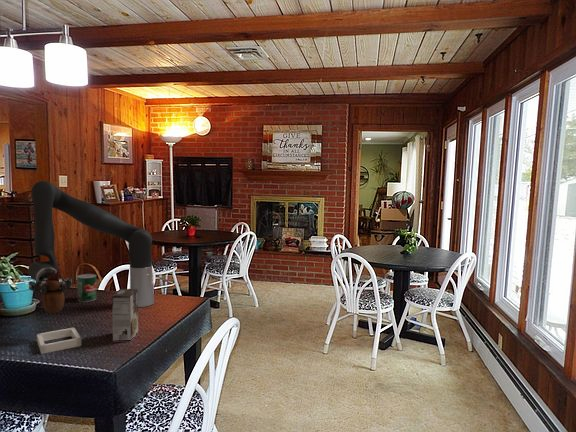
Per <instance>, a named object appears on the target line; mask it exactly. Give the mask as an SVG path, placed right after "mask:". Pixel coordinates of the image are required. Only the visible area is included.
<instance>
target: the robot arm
mask: <svg viewBox="0 0 576 432" xmlns="http://www.w3.org/2000/svg"><path fill="white" fill-rule="evenodd" d="M30 192H31V200H32V203H33V212H34V240H33V241H34V254H35V255H37V256H41V257H46V258H47V259H48V260H42V261H41V260H40V261H34V262H32V263H30V265H29V266H28V272H27V273H28V276H29V277H30V276H31V277H30V279H32V280H33V281H29V282H28V289H29V290H30V291H32V292H33V293H37V292H39V291H40V293H43V294H44V293H46V291H47V290H46V286H45V284H46V281H47V278H48V275H49V276H50V273H52V276H53V270H54V271H55V276H56V273H57V270H58V269H59V270H60V267H59V264H58V261H57V256H56V254H55V253H56V252H55V239H56V238H55V229H54V221H53V209H54V210H55V209H56V210H58V211H61V212H63V213H65V214H66V215H68V216H70V217H71V218H73V219H74V220H76V221H78V222H79V223H81V224H83V225H84V226H86V227H89V228H91V229H93V230H96V231H98V232H101V233H104V234H108V235H112V236H115V237H117V238H120V239H121V240H122V241H123V240H124V241H125V242H127V243H128V260H129V261H128V262H129V289H138V290H137V291H138V308H144V307H150V306H151V305H155V285H154V282H153V257H152V243H153V236H152V234H151V232H149V231H148V230H147V229H144V228H142V227H139V226H137V225H133V224H131V223H129V222H126V221H124V220H123V219H122V218H119V217H118V216H116V215H115V214H113V213H111V212H109V211H107V210H105V209H104V208H102V207H99V206H98V205H96V204H93V203H90V202H87V201H85V200H81V199H79V198H77V197H73V196H72V195H70V194H68V193H67V192H65V191H63V190H61V188H58V186H56V185H55V184H54V183H52V182H50V181H47V180H40V181H36V182H35V183H34V184H33V186H32V187H31V189H30ZM59 280H60V282H61V288H60V289H59V290H61V291H62V292H65V291H66V290H67V289H70V288H71V287H72V285H73V277H71V276H69V277H67V278H66V279H64V278H62V277H61V274H60V273H59Z"/></svg>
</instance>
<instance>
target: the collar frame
mask: <svg viewBox="0 0 576 432" xmlns="http://www.w3.org/2000/svg"><path fill="white" fill-rule="evenodd" d="M68 337H71V338H70V339H66V340H60V341H56V342H51V343H45V342H47V341H51V340H57V339H62V338H68ZM36 343H37V346H38V349H39V352H40V354H41V355H43V354H49V353H53V352H57V351H63V350H67V349H72V348H77V347H81V346H82V337H81V336H80V334H79V333H78V331H77V329H76V328H75V327H68V328H65V329H64V328H63V329H57V330H53V331H46V332H41V333H36Z"/></svg>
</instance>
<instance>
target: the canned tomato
mask: <svg viewBox="0 0 576 432" xmlns="http://www.w3.org/2000/svg"><path fill="white" fill-rule="evenodd" d="M76 278H77V280H76V281H77V283H76V287H77V302H80V303H87V302H92V301H95V300H97V274H95V273H84V274H78V275H77V276H76Z"/></svg>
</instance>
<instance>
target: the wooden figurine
mask: <svg viewBox="0 0 576 432" xmlns="http://www.w3.org/2000/svg"><path fill="white" fill-rule="evenodd" d="M59 274H60V268H59V269H58V270H57V273H56V276H55V271H54V270H53V276H52V273H50V276H49V275H48V278H47V281H46V284H45V286H46V290H47V291H46V293H44V292H43V294H42V297H41V298H42V299H41V302H42V303H41V304H42V306H43V310H44V311H45V312H47V313H50V314H51V313H53V314H54V313H58V312H61V311H62V310H63V308H64V306H65V301H66V299H65V293H64V291H62V290H61V289H60V288H61V282H60V280H59Z"/></svg>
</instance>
